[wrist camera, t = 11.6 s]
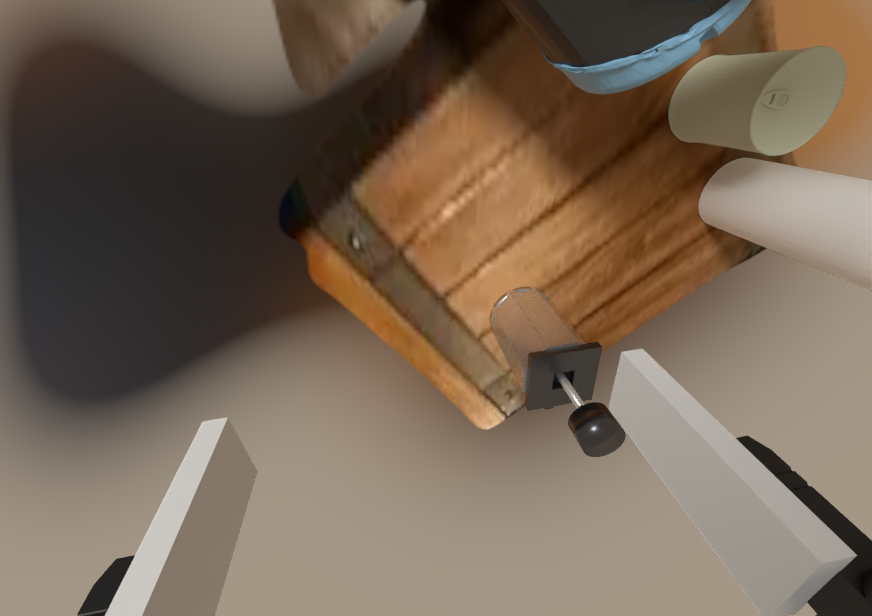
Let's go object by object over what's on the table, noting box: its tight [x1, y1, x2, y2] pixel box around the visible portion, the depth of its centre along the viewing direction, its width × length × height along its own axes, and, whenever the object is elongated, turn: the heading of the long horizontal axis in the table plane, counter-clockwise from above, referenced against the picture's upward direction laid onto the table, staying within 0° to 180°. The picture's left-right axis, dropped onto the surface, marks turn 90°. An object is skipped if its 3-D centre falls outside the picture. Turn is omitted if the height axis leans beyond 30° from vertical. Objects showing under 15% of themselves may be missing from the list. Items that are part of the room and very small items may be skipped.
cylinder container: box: [698, 158, 872, 291], centre depth 39 cm, size 9×9×30 cm
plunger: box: [555, 372, 626, 457], centre depth 45 cm, size 7×7×20 cm
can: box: [668, 46, 846, 156], centre depth 39 cm, size 9×9×12 cm
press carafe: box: [490, 287, 602, 411], centre depth 51 cm, size 12×10×15 cm
